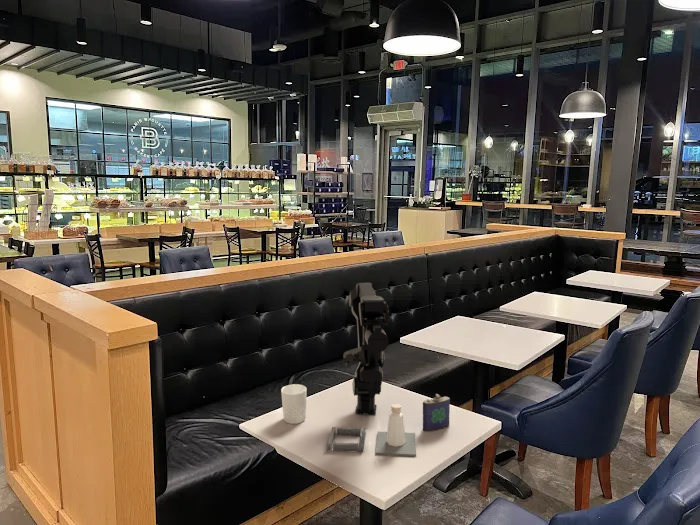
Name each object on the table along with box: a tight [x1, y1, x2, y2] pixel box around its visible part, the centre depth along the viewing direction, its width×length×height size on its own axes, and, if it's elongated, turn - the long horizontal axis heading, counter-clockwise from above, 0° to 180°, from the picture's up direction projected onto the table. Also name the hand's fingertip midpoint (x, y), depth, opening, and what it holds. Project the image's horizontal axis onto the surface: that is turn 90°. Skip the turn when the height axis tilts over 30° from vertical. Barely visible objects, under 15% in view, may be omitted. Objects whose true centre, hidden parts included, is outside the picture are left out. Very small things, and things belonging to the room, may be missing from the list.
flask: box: [422, 393, 451, 433], centre depth 158 cm, size 9×3×11 cm, turn 114°
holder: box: [327, 426, 367, 453], centre depth 150 cm, size 10×10×2 cm
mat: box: [375, 430, 417, 457], centre depth 149 cm, size 12×11×1 cm
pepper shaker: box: [386, 403, 406, 447], centre depth 148 cm, size 5×5×11 cm
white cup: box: [280, 383, 308, 425], centre depth 164 cm, size 8×8×10 cm
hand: (372, 391), depth 154 cm, fingers open, 9 cm apart
